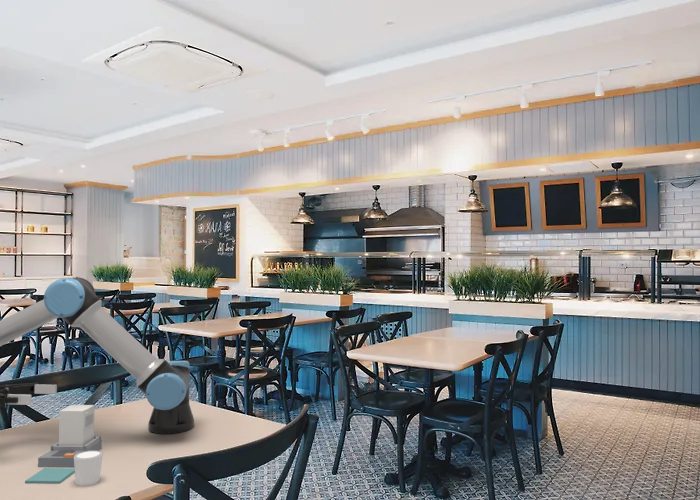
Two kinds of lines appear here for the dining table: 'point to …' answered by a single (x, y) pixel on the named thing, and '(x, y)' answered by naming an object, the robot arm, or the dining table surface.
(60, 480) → the mat
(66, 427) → the block
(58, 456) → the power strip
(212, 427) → the dining table surface
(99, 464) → the white cup
